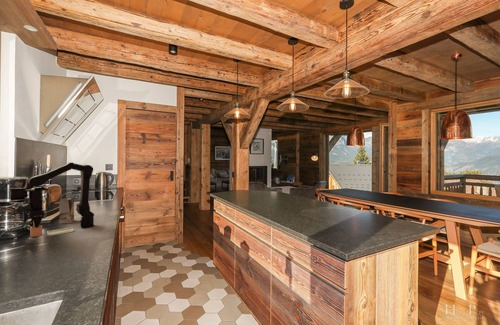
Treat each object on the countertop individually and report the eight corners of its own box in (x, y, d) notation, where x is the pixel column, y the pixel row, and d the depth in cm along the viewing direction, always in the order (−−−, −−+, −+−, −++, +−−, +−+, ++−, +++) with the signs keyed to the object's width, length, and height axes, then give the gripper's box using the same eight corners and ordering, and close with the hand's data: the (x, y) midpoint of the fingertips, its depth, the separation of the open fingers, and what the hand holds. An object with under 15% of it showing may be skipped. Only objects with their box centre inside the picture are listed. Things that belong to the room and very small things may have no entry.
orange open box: (42, 233, 138) (41, 225, 138) (42, 235, 135) (42, 227, 135) (30, 235, 135) (30, 226, 135) (30, 237, 131) (30, 228, 131)
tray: (72, 229, 147) (72, 227, 147) (74, 232, 141) (74, 230, 141) (46, 233, 139) (46, 231, 139) (47, 237, 133) (47, 234, 133)
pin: (39, 233, 137) (38, 218, 136) (39, 234, 135) (39, 219, 135) (33, 234, 135) (33, 219, 135) (33, 235, 133) (33, 219, 133)
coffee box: (71, 223, 160) (70, 199, 160) (59, 224, 158) (58, 200, 157) (74, 220, 169) (74, 197, 168) (63, 221, 166) (62, 198, 166)
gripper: (16, 198, 136) (16, 225, 136) (15, 202, 122) (16, 232, 122) (42, 196, 143) (42, 221, 144) (44, 200, 130) (44, 228, 130)
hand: (36, 226), depth 135 cm, fingers open, 8 cm apart
